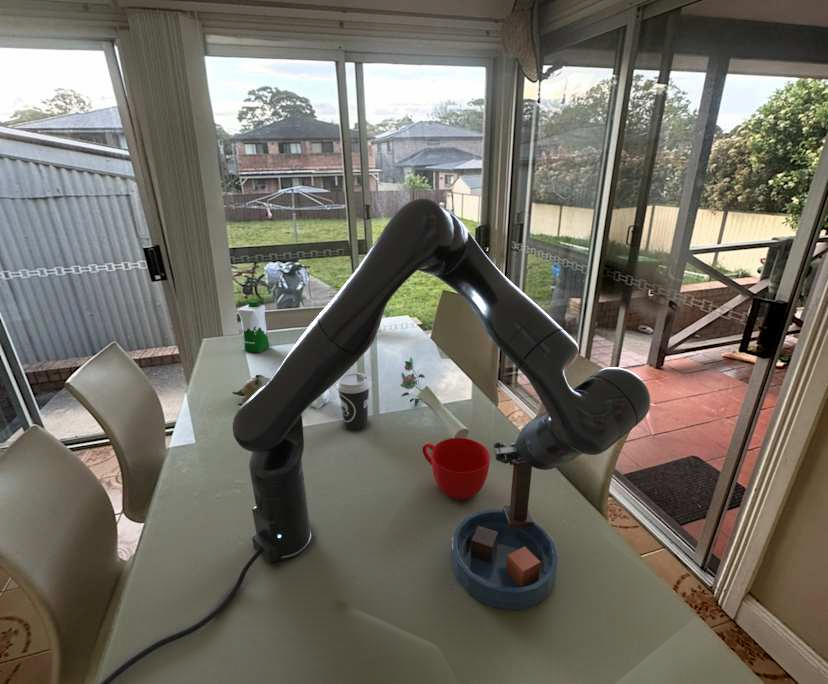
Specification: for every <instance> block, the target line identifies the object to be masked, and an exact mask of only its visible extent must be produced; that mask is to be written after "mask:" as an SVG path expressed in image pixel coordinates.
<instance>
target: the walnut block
mask: <svg viewBox="0 0 828 684" xmlns="http://www.w3.org/2000/svg"><path fill="white" fill-rule="evenodd" d="M497 541H498V532H496V531H493V530H490V529H487V528H484V527H481V526H478V527H477V529H476V531H475V534H474V536H473V538H472V542H471V557H474V558H477V559H480V560H483V561H485V562H488V563H492V560H493V558H494V555H495V552H496V549H497Z"/></svg>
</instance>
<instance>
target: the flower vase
mask: <svg viewBox="0 0 828 684" xmlns="http://www.w3.org/2000/svg"><path fill="white" fill-rule="evenodd" d="M404 364H405V365H404V367H403V368H404V370H405V371H407V372H410V371H412V373H411V374H407V375H405V373H404V372H401V378H402V383H400V384H399V386H400V387H402V388H404V389H406V390H413V389H414V388H416V389H417V390H418V391H419V393H418V394H417V395H413V394H410V393H409V392H404V393H402V394H401V395H400V397H406V396H410V395H411V396H414V397H416V398H413V397H412V398H411V399H410V400H409V402H410V403H412V402H413V401H414V402H413V405H414V407H415V408H416V407H417V405H418V404H419V402H420V401H421V402H423V404H425V405H426V406H427V408H429V409H430V410H431V411H432V413H433V414H434V415H435V416H436V417H437V418H438V420H439V421H440V422H441V424H442V426H443V427H444V428H445V430H446V431H447V432H448V434H449V435H450V437H451V438H465V439H467V437H468V436H469V433H470V430H469V428H468V427H466V426H465V425H464V424H463V423H462V422H461V421H460V420H459V419H458V418H457V417H456V416H454V414H453V413H452V412H450V410H449V409H447V408H446V406H445V405H444V404H443V403H442V402H441V401H440V399H439V398H438V397H437V394H436V393H435V391H434V389H432V388H430V386H429V385H426V386H424V387H423V388H422V387H421V384H420V381H419V378H420V379H422V378H424V379H425V378H426V377H425V375H424V374H422V373H420V374H419V371H420V370H421V369H420V368H419V369H418V370H417V372H415V367H414V360H413V358H412V356H410V358H409V360H404Z"/></svg>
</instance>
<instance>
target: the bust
mask: <svg viewBox="0 0 828 684" xmlns="http://www.w3.org/2000/svg"><path fill="white" fill-rule="evenodd" d="M329 398H330V388H329V389H328V390H326V391H325V392H324V393H323V394H322V395H321V396H319V397H318V398H317V399H316V400H315V401H314V402H312V403H311V404H310V406H311V407H312V408H315V409H321V407H322V406H324V405H326V404H327V403H328V402H329V400H330V399H329Z"/></svg>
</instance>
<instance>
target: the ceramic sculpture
mask: <svg viewBox="0 0 828 684" xmlns="http://www.w3.org/2000/svg"><path fill="white" fill-rule="evenodd" d="M274 375H275V374H272V375H271V376H269V377H266V376H265V375H264V374H256V375H255V377H252V378H249V379H247V381H245V383H244V385H243V387H242V388H241V389H239V390H238V391H232V392H231V393H232V395H235V396H239V397H243V398H242V399H241V400H240V402H238V403H237V404H236V405H237V406H242V405H243V404H244V403H245V402H246V401H247V400H248V399H249V398H250V397H251V396H252V395H253V394H254V393H255V392H256V391H257V390H259V389H260V388H261V387H263V386H265V385H266V384H267V383H268V382H269V381H270V380H271V379H272V377H273V376H274Z"/></svg>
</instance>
